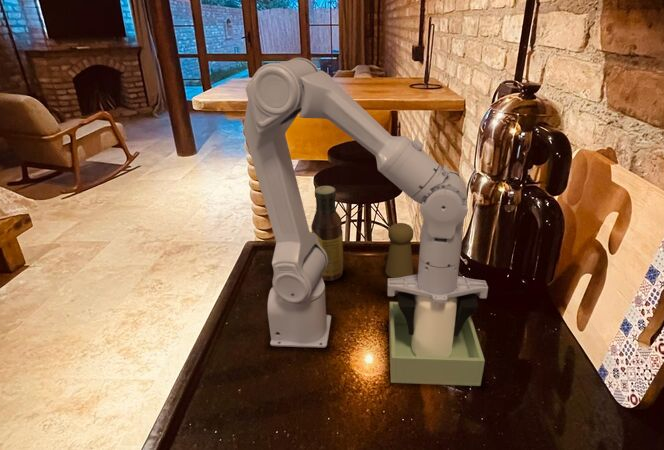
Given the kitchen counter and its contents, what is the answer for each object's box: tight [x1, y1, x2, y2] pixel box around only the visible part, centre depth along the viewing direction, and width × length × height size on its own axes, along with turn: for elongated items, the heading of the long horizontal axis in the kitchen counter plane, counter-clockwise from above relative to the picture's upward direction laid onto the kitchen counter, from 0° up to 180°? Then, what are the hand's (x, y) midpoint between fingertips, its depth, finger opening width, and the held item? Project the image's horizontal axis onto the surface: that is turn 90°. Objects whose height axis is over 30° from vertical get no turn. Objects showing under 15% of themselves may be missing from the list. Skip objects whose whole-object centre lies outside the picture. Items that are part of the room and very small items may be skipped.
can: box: [411, 294, 457, 357], centre depth 63 cm, size 6×6×12 cm
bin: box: [388, 301, 486, 387], centre depth 65 cm, size 13×13×5 cm
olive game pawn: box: [384, 222, 414, 278], centre depth 85 cm, size 6×6×11 cm
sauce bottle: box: [310, 185, 344, 282], centre depth 83 cm, size 6×6×20 cm
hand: (432, 331), depth 64 cm, fingers closed on can, 6 cm apart
